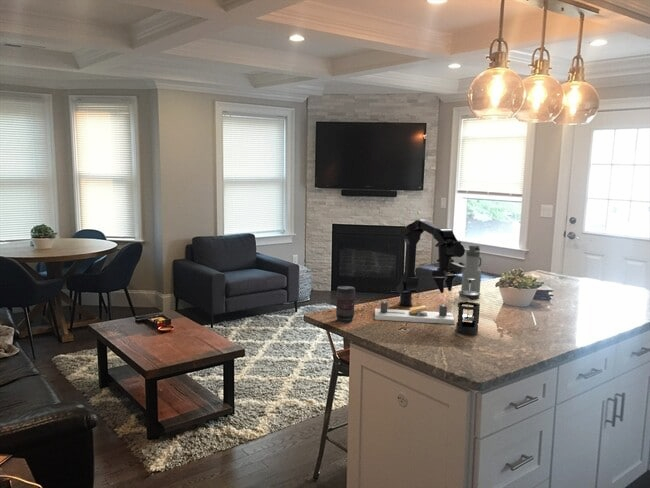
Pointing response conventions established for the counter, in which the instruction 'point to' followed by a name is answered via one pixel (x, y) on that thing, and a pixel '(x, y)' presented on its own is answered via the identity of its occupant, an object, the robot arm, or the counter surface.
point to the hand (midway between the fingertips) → (446, 291)
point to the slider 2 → (443, 310)
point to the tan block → (421, 308)
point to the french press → (468, 327)
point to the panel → (414, 316)
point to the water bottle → (472, 270)
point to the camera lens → (345, 304)
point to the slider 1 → (384, 306)
